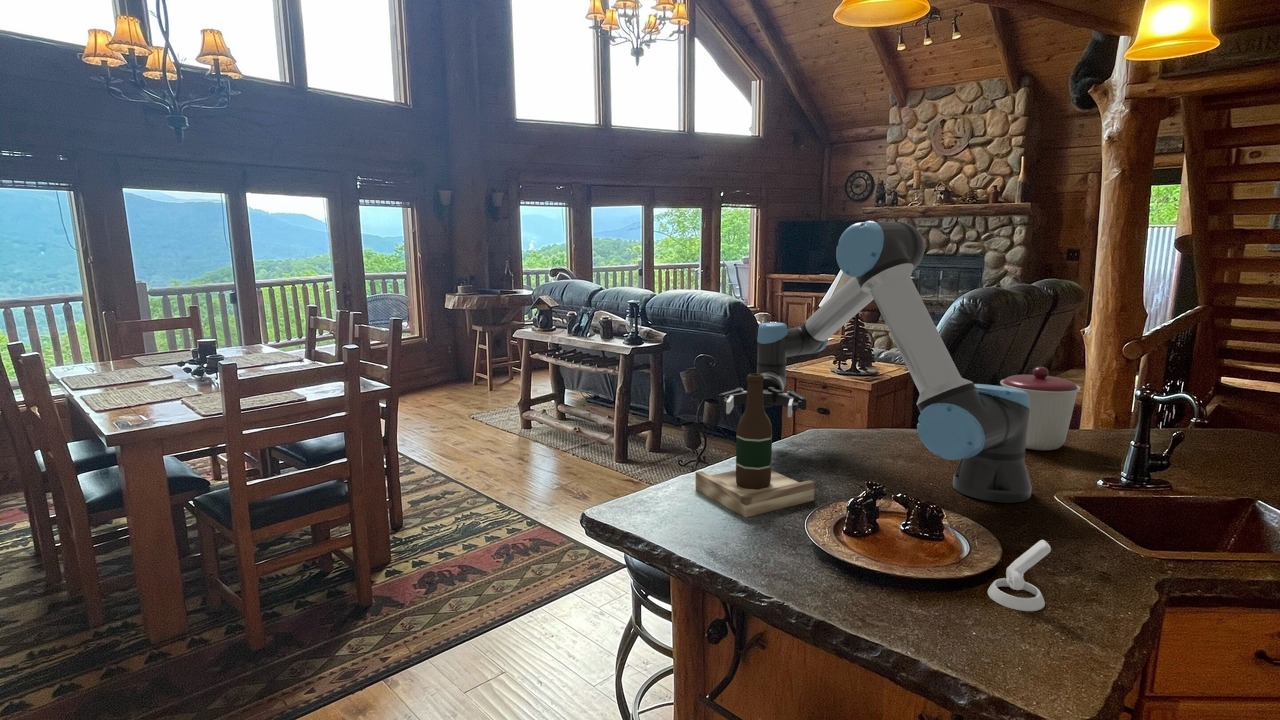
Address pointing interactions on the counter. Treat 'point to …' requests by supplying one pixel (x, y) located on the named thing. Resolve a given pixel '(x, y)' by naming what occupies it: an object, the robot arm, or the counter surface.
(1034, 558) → the white ring with handle
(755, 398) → the beer bottle
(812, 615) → the counter surface
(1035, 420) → the canister
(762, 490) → the wooden tray
